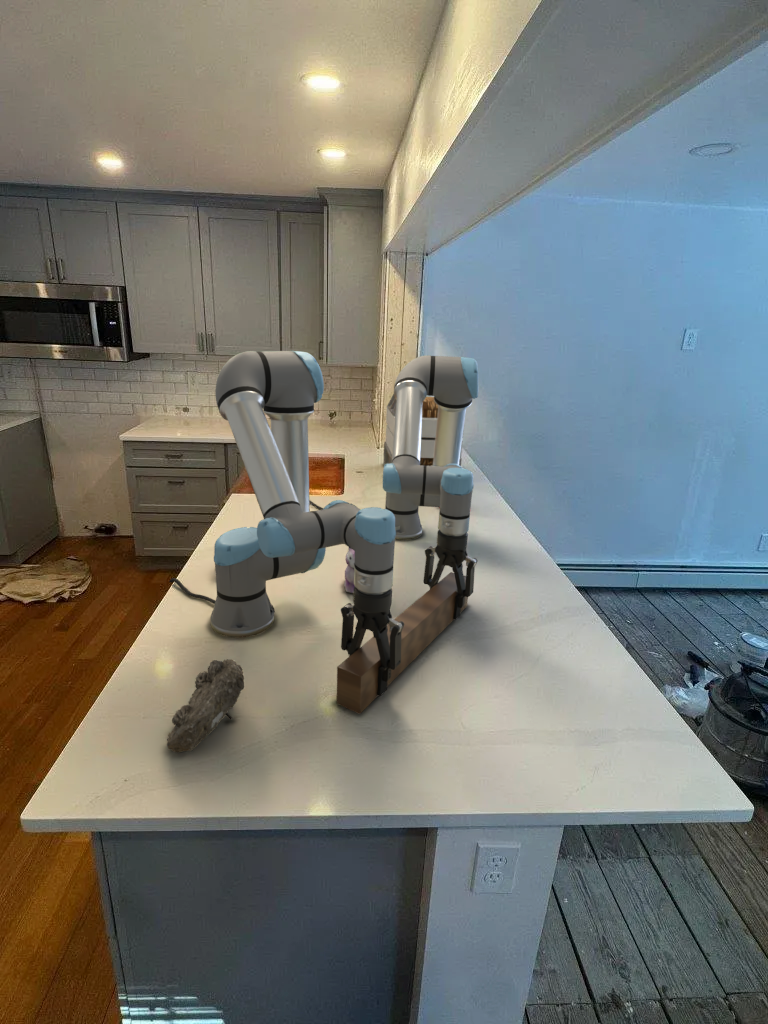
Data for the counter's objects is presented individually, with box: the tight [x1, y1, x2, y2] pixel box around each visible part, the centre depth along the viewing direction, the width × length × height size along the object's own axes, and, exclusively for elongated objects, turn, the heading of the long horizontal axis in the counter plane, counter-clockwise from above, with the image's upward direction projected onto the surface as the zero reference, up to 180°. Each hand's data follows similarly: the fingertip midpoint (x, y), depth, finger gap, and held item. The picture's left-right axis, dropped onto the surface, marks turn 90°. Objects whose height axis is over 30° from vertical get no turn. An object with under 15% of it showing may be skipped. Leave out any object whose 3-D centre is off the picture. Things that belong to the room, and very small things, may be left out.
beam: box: [336, 571, 469, 715], centre depth 132 cm, size 52×6×9 cm, turn 149°
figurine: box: [343, 547, 355, 594], centre depth 158 cm, size 9×10×15 cm
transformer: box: [383, 393, 465, 467], centre depth 268 cm, size 34×33×41 cm
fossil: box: [166, 658, 245, 754], centre depth 106 cm, size 22×10×15 cm
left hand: (369, 686), depth 118 cm, fingers closed on beam, 6 cm apart
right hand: (445, 613), depth 148 cm, fingers closed on beam, 6 cm apart
